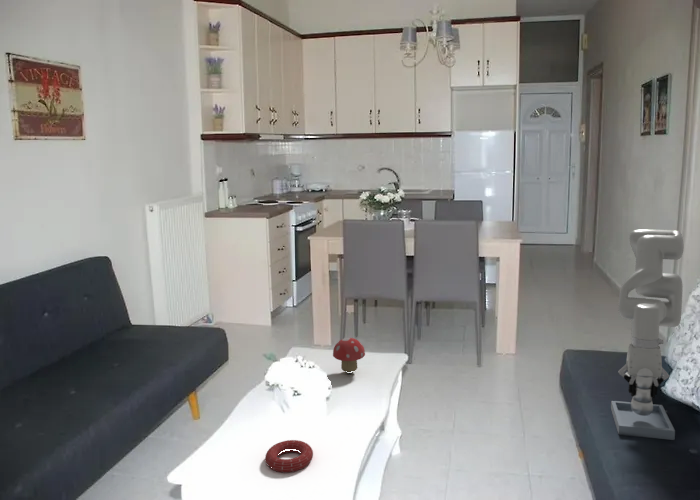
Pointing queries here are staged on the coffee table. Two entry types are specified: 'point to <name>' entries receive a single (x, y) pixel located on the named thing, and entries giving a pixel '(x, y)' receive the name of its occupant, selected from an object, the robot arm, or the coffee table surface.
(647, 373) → the plastic bottle
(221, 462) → the coffee table surface
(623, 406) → the tray
